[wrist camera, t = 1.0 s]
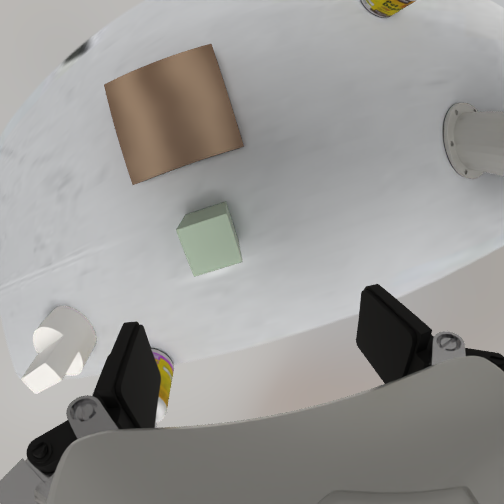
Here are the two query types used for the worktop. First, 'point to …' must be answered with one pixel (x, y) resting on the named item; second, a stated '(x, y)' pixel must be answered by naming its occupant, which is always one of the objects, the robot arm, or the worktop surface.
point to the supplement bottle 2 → (386, 6)
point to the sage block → (209, 239)
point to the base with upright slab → (59, 348)
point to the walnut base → (172, 113)
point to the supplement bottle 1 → (163, 383)
